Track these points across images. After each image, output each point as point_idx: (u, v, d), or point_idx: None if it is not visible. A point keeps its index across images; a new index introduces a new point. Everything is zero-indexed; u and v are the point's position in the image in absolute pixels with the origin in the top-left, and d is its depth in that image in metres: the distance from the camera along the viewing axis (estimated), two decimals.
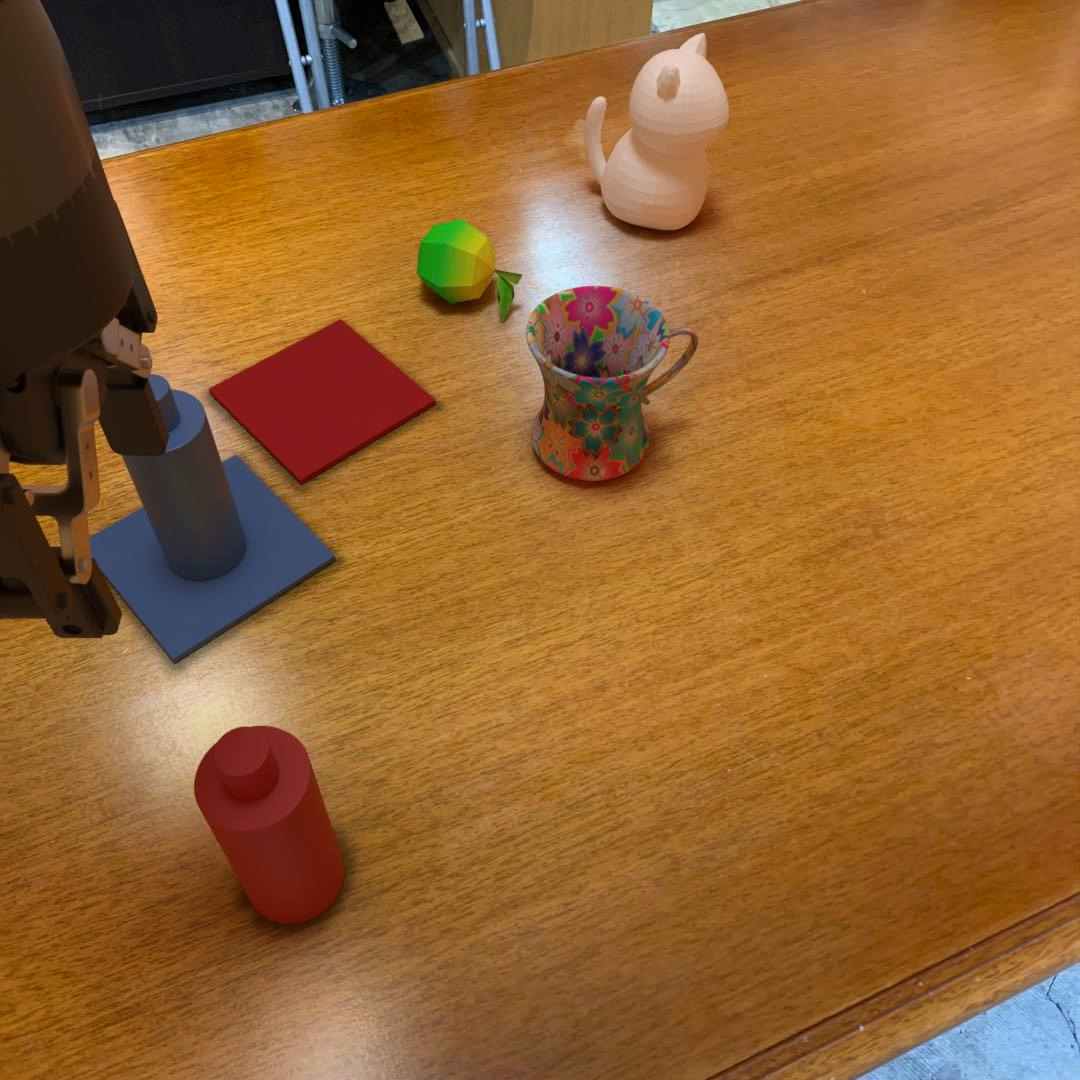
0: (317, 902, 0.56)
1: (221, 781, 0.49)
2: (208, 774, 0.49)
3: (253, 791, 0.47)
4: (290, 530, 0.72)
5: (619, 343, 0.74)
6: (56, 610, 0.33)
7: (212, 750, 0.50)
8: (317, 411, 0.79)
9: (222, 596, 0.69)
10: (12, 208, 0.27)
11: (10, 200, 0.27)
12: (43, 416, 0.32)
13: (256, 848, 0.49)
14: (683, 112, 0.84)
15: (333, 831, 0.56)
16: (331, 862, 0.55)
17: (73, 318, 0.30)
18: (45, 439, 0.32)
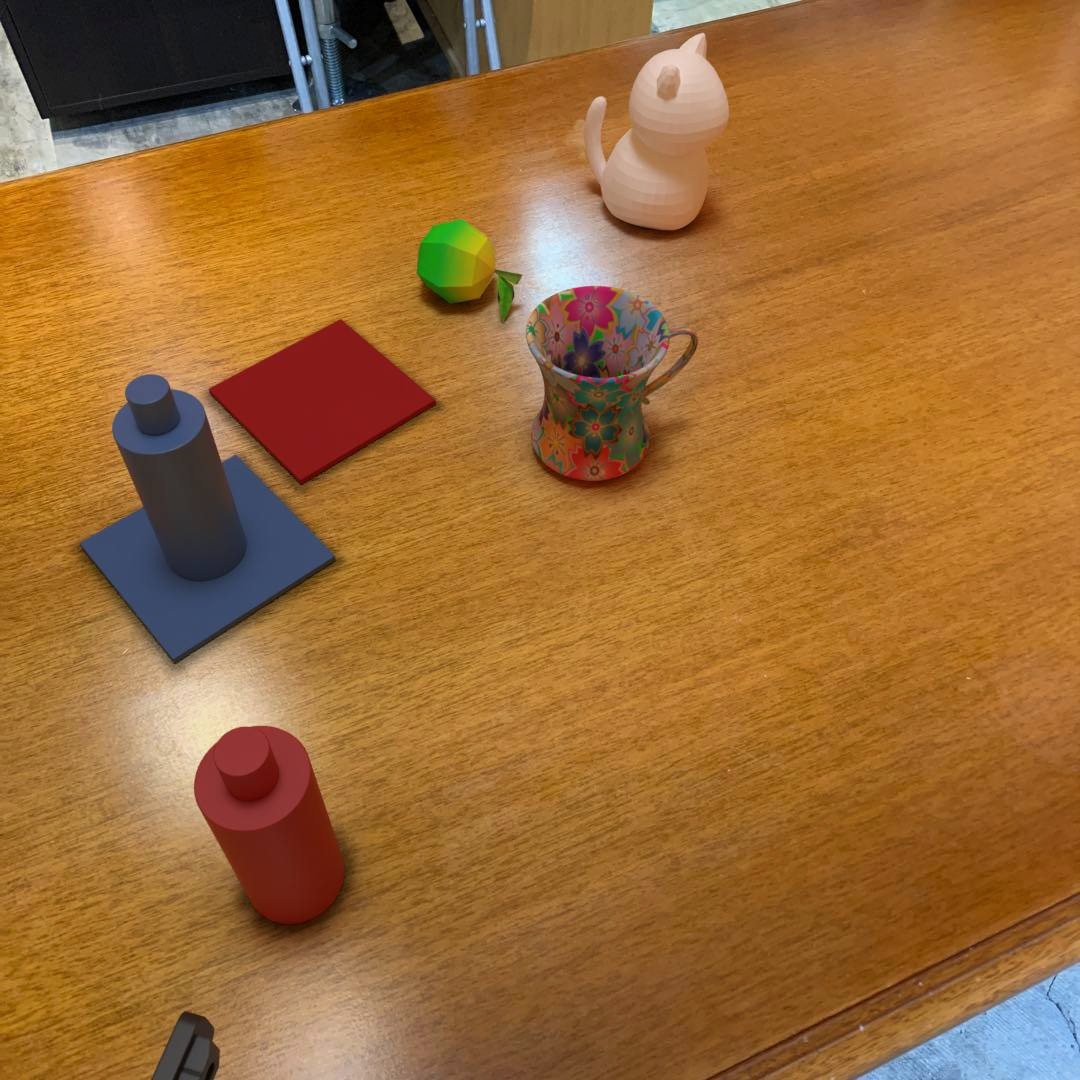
0: (317, 902, 0.56)
1: (221, 781, 0.49)
2: (208, 774, 0.49)
3: (253, 791, 0.47)
4: (290, 530, 0.72)
5: (619, 343, 0.74)
6: None
7: (212, 750, 0.50)
8: (317, 411, 0.79)
9: (222, 596, 0.69)
10: None
11: None
12: None
13: (256, 848, 0.49)
14: (683, 112, 0.84)
15: (333, 831, 0.56)
16: (331, 862, 0.55)
17: None
18: None
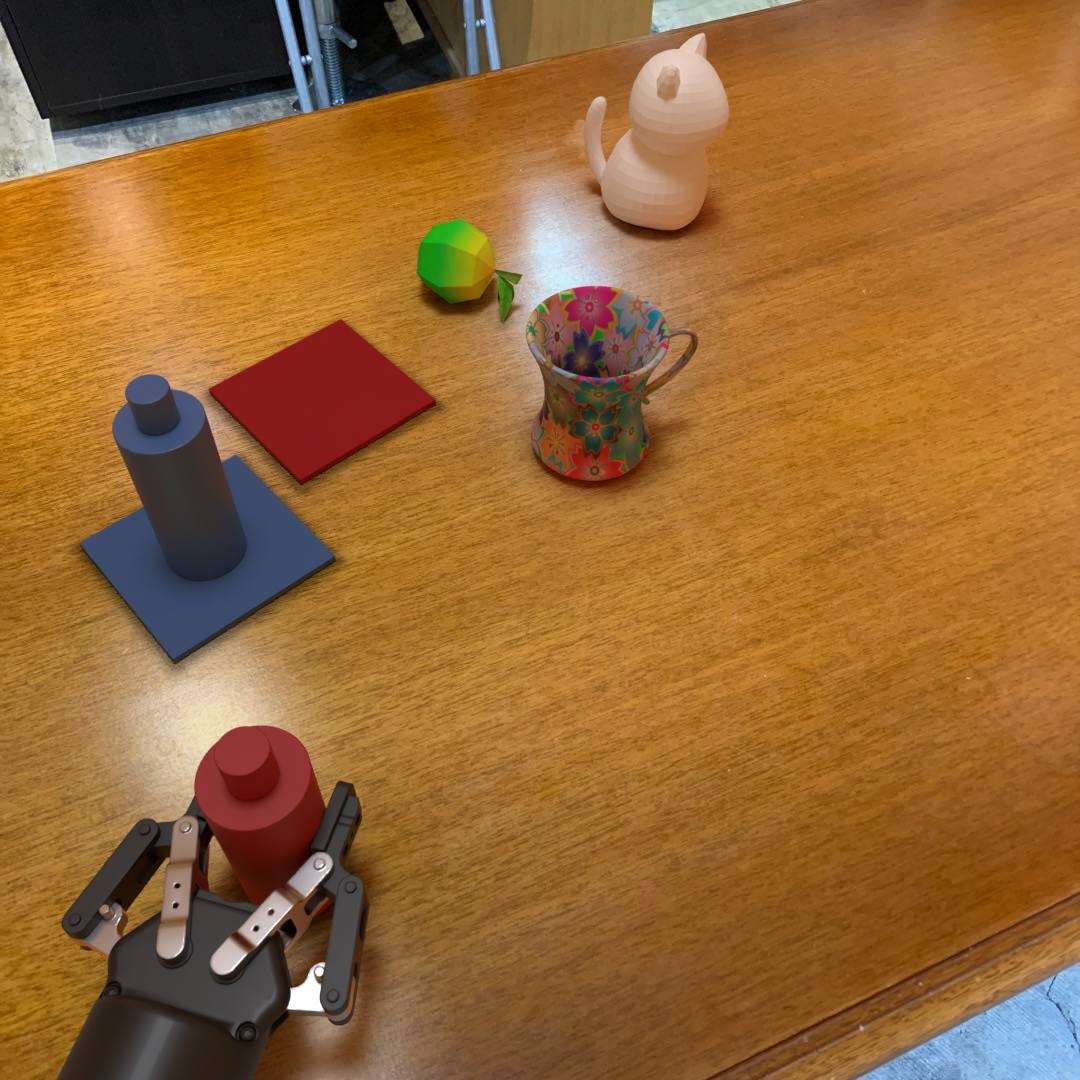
0: None
1: (221, 781, 0.49)
2: (208, 774, 0.49)
3: (253, 791, 0.47)
4: (290, 530, 0.72)
5: (619, 343, 0.74)
6: None
7: (212, 750, 0.50)
8: (317, 411, 0.79)
9: (222, 596, 0.69)
10: None
11: None
12: None
13: (257, 848, 0.49)
14: (683, 112, 0.84)
15: None
16: None
17: None
18: None
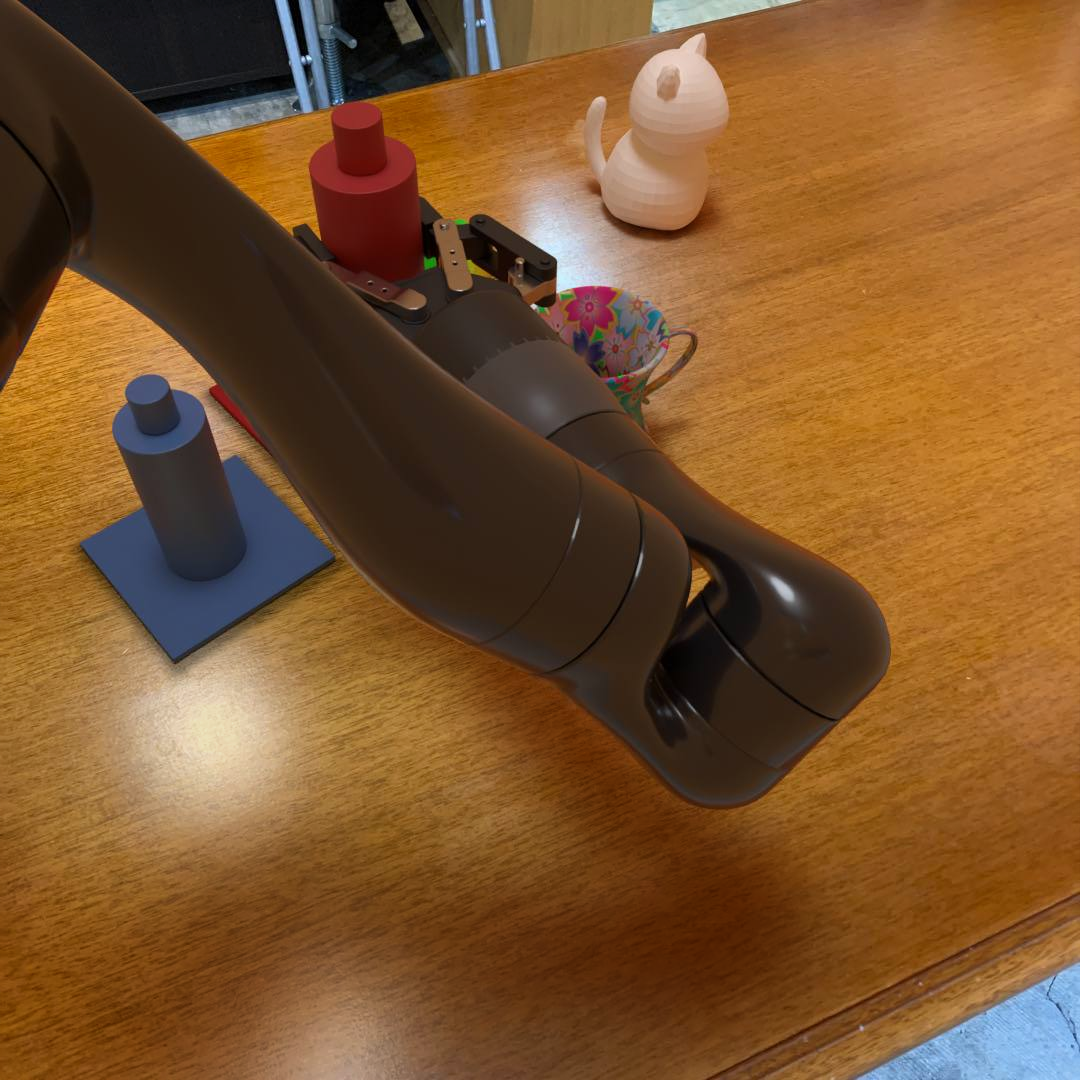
0: None
1: (344, 176, 0.52)
2: (330, 178, 0.52)
3: (382, 152, 0.52)
4: (290, 530, 0.72)
5: (619, 343, 0.74)
6: None
7: (313, 169, 0.52)
8: None
9: (222, 596, 0.69)
10: None
11: None
12: None
13: (406, 215, 0.53)
14: (683, 112, 0.84)
15: None
16: None
17: None
18: None
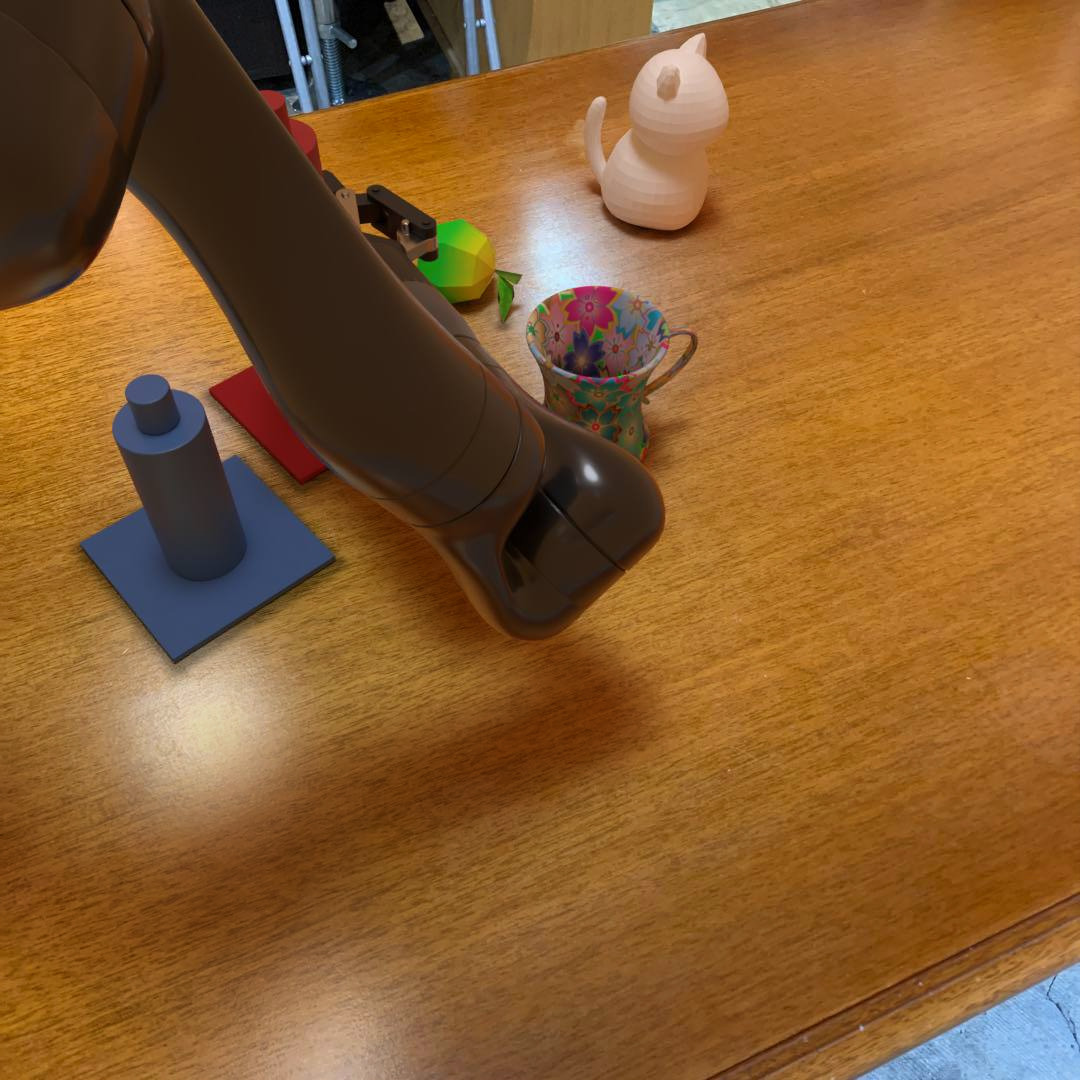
0: None
1: None
2: None
3: None
4: (290, 530, 0.72)
5: (619, 343, 0.74)
6: None
7: None
8: None
9: (222, 596, 0.69)
10: None
11: None
12: None
13: None
14: (683, 112, 0.84)
15: None
16: None
17: None
18: None
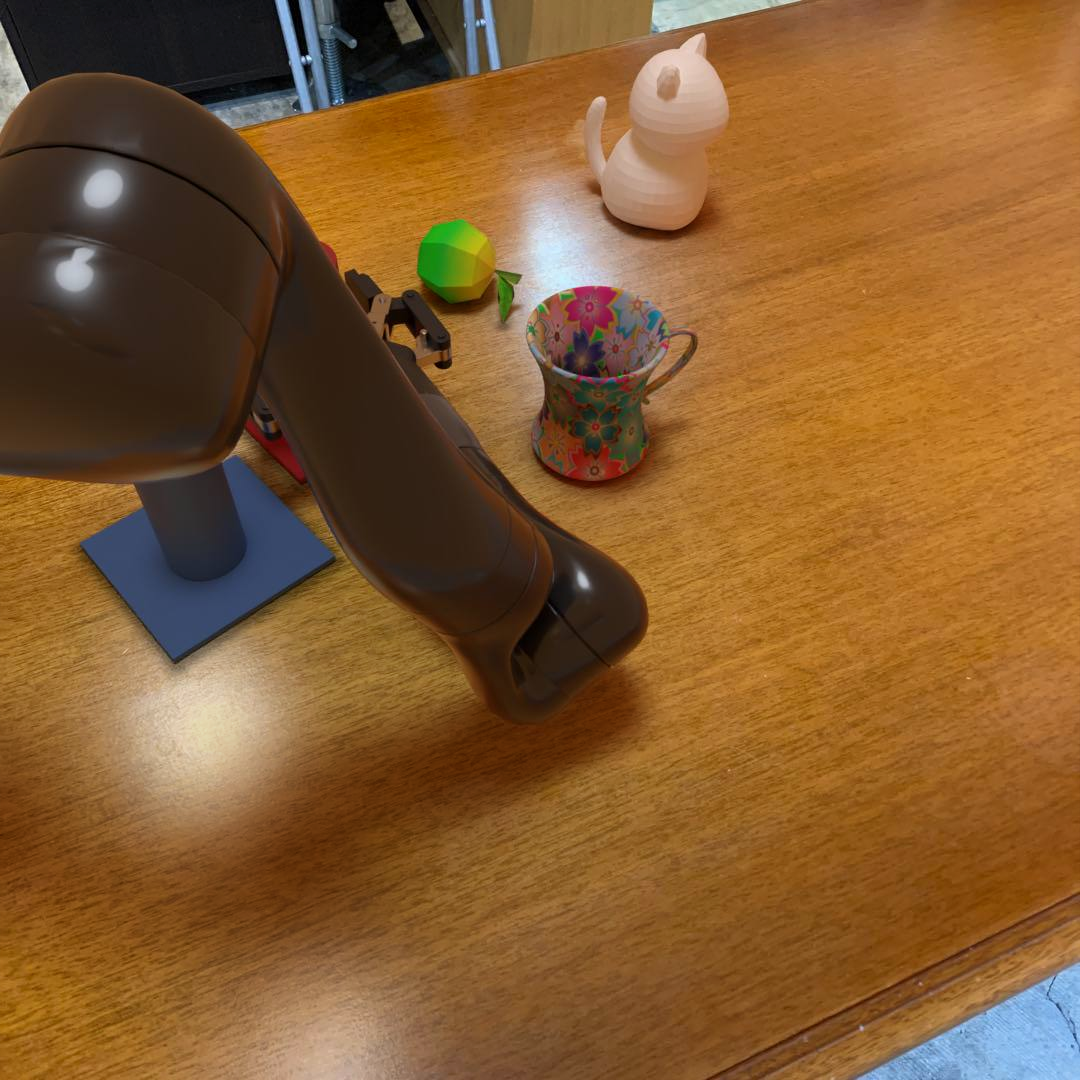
0: None
1: None
2: None
3: None
4: (290, 530, 0.72)
5: (619, 343, 0.74)
6: None
7: None
8: None
9: (222, 596, 0.69)
10: None
11: None
12: None
13: None
14: (683, 112, 0.84)
15: None
16: None
17: None
18: None
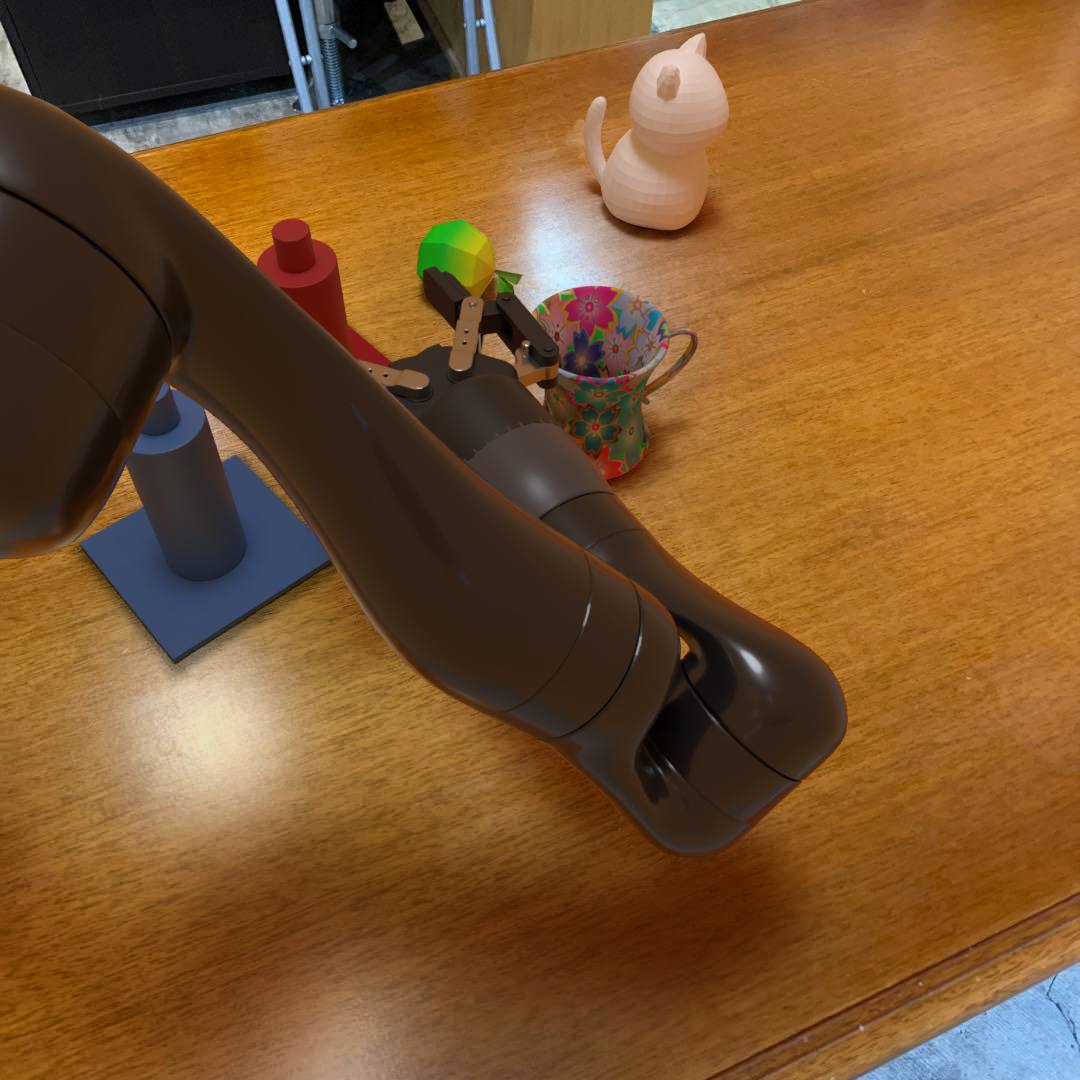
0: None
1: (283, 273, 0.70)
2: (272, 275, 0.70)
3: (310, 255, 0.70)
4: (290, 530, 0.72)
5: (619, 343, 0.74)
6: None
7: (259, 267, 0.70)
8: None
9: (222, 596, 0.69)
10: None
11: None
12: None
13: (329, 301, 0.71)
14: (683, 112, 0.84)
15: None
16: None
17: None
18: None
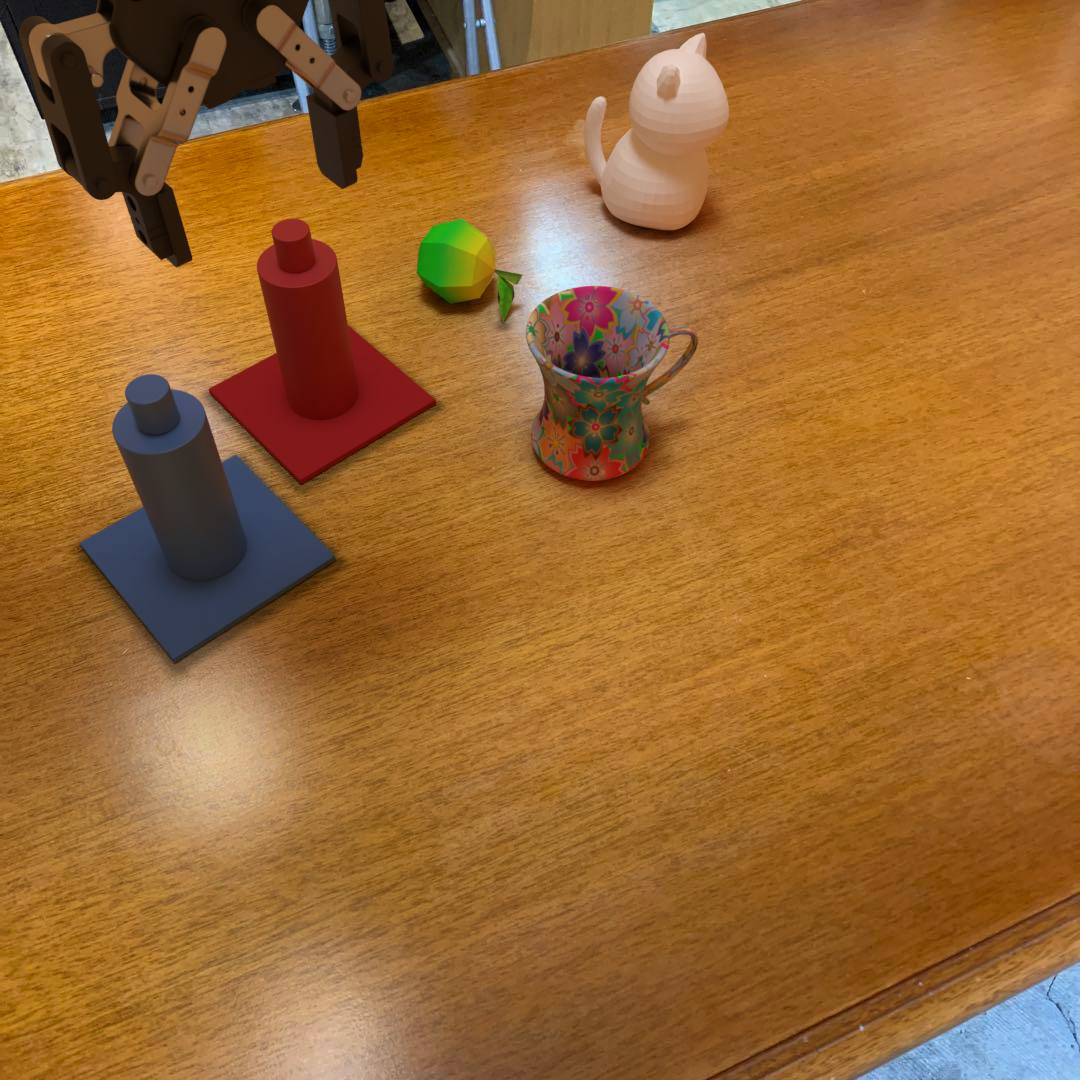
0: (355, 380, 0.79)
1: (283, 273, 0.70)
2: (272, 275, 0.70)
3: (310, 255, 0.70)
4: (290, 530, 0.72)
5: (619, 343, 0.74)
6: (87, 183, 0.40)
7: (259, 267, 0.70)
8: None
9: (222, 596, 0.69)
10: None
11: None
12: (155, 36, 0.39)
13: (329, 301, 0.71)
14: (683, 112, 0.84)
15: None
16: None
17: None
18: (149, 55, 0.39)
